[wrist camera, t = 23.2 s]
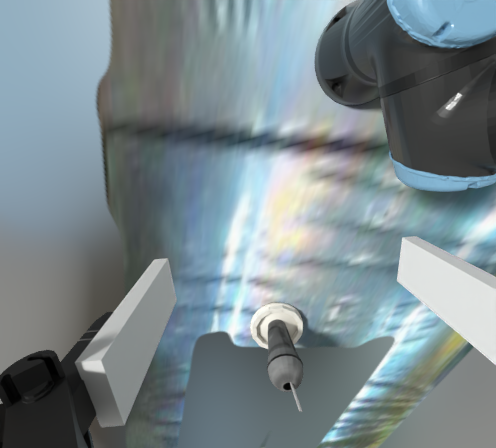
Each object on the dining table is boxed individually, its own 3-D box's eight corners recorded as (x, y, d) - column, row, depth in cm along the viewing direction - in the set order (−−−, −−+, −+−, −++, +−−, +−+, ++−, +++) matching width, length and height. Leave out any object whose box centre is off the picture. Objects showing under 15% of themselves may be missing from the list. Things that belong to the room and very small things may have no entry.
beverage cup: (258, 319, 58) (267, 403, 39) (287, 311, 57) (310, 392, 38) (266, 341, 60) (278, 431, 41) (294, 334, 60) (319, 421, 41)
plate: (301, 299, 57) (303, 305, 56) (302, 342, 61) (304, 348, 60) (248, 304, 57) (248, 310, 56) (252, 346, 61) (252, 353, 60)
